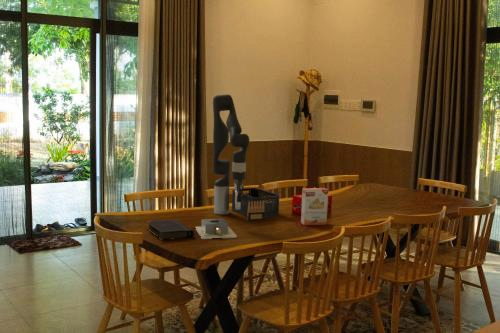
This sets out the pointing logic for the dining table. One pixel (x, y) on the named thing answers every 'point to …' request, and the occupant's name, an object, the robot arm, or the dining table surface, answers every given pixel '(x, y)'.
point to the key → (237, 204)
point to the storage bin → (268, 208)
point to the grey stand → (215, 229)
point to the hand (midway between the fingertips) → (238, 201)
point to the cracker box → (314, 206)
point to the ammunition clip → (256, 211)
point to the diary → (170, 229)
